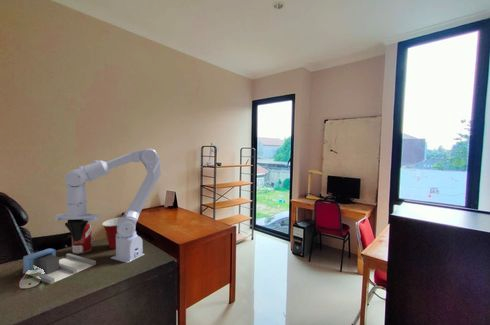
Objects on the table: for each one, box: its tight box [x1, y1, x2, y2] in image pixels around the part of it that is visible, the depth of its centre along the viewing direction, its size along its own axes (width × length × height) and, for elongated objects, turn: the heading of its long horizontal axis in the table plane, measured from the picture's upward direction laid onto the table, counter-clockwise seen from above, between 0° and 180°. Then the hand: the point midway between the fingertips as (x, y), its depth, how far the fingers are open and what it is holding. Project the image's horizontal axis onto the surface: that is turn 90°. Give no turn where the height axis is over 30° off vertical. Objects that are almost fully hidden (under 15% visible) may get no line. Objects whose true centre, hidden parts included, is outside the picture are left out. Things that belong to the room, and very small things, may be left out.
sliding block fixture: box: [22, 248, 97, 285], centre depth 80 cm, size 16×14×6 cm
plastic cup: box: [101, 217, 120, 250], centre depth 100 cm, size 11×11×12 cm
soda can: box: [71, 221, 93, 255], centre depth 95 cm, size 7×7×12 cm
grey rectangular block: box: [33, 254, 60, 274], centre depth 79 cm, size 10×4×4 cm, turn 64°
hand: (77, 240), depth 83 cm, fingers closed
